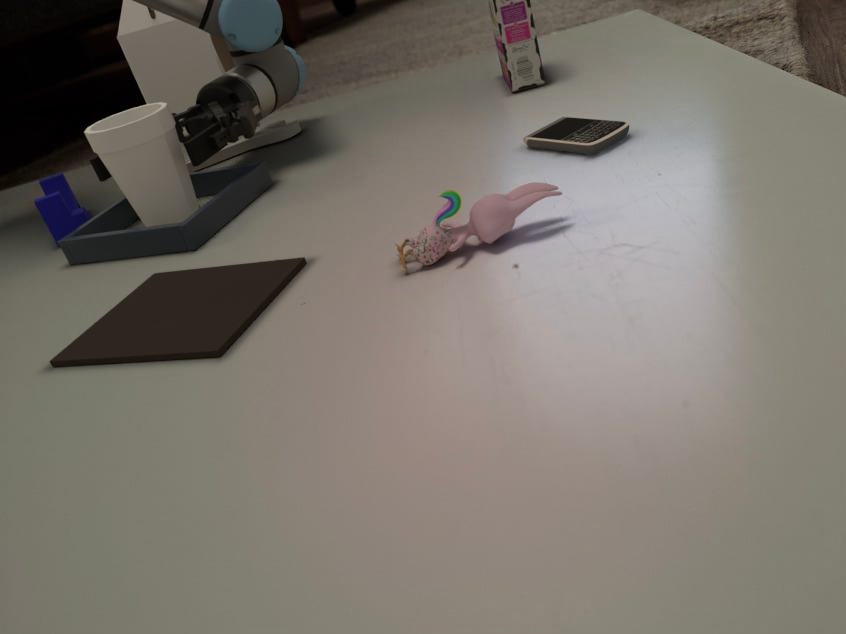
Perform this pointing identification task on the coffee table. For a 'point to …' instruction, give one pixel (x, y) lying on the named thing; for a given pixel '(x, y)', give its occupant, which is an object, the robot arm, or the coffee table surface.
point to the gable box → (170, 56)
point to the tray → (112, 242)
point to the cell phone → (577, 135)
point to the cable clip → (60, 207)
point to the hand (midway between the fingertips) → (142, 163)
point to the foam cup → (146, 162)
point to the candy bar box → (516, 43)
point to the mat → (182, 314)
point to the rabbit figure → (473, 221)
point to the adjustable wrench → (251, 142)
